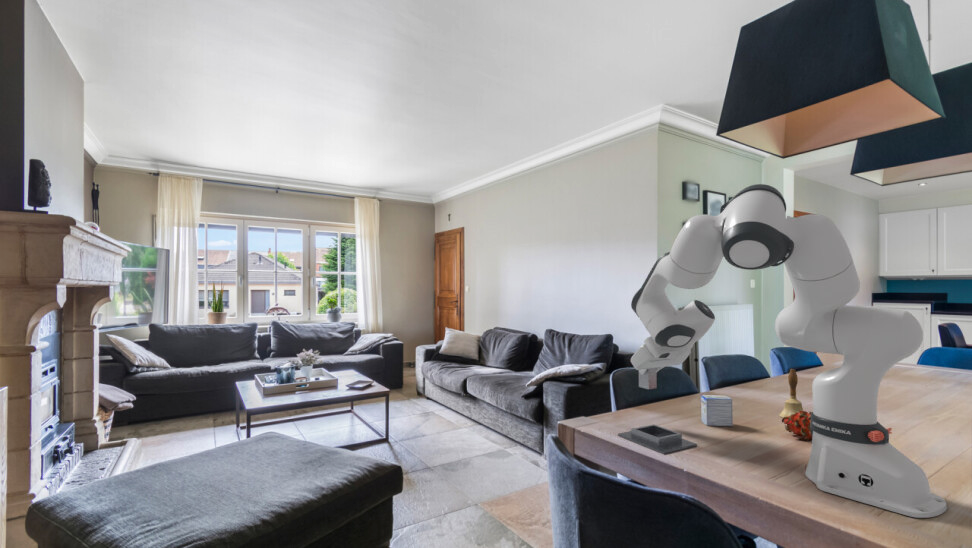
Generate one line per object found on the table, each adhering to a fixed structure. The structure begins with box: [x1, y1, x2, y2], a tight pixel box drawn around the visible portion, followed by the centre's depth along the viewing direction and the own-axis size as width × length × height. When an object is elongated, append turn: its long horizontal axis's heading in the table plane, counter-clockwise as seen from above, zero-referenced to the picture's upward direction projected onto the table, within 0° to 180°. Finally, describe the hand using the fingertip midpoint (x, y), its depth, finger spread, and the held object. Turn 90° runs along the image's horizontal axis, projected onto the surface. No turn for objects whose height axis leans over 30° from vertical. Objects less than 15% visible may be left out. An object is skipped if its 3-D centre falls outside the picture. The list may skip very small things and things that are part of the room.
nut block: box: [638, 368, 658, 390], centre depth 139 cm, size 4×4×9 cm
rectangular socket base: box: [617, 423, 698, 455], centre depth 123 cm, size 16×13×3 cm
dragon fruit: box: [781, 410, 813, 442], centre depth 126 cm, size 8×8×12 cm
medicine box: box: [700, 394, 734, 427], centre depth 139 cm, size 8×4×9 cm, turn 84°
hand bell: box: [778, 368, 804, 419], centre depth 147 cm, size 8×8×16 cm
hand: (647, 371), depth 139 cm, fingers closed on nut block, 3 cm apart
